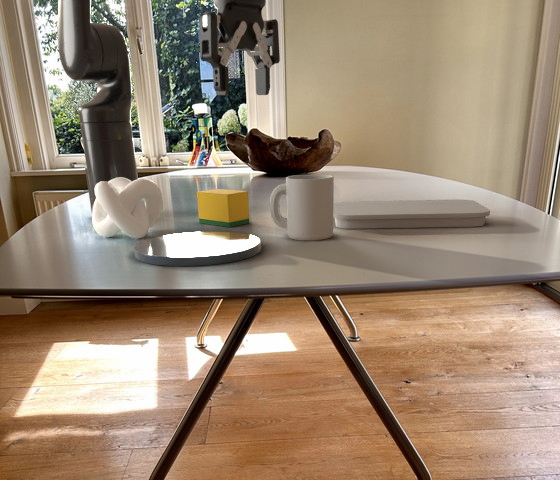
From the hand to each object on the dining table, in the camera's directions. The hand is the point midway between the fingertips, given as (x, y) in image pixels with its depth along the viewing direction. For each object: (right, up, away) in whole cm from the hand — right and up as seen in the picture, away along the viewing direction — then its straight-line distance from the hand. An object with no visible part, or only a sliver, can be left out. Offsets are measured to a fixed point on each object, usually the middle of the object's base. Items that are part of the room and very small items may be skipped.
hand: (243, 95), depth 91 cm
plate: (-6, -25, -6) cm, 26 cm away
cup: (+9, -21, +3) cm, 23 cm away
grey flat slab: (+28, -16, +14) cm, 35 cm away
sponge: (-4, -15, +17) cm, 23 cm away
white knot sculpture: (-19, -20, +7) cm, 29 cm away
